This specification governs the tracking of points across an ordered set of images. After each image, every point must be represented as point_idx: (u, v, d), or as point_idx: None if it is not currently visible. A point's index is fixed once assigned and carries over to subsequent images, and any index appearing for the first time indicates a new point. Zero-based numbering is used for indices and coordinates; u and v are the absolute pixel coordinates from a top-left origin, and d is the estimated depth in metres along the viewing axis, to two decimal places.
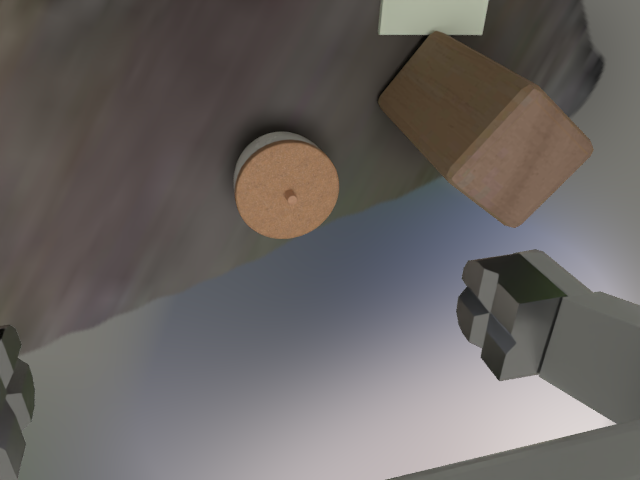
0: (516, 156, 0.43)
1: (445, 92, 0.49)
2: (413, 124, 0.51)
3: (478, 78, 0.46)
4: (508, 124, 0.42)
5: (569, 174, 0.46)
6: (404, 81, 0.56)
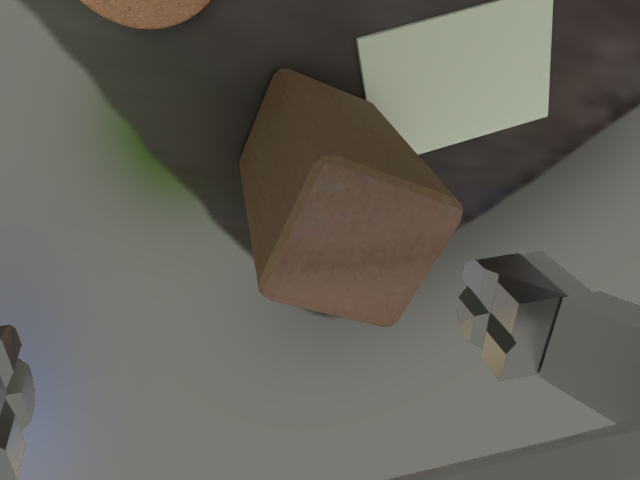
0: (375, 236, 0.31)
1: (366, 128, 0.37)
2: (312, 105, 0.36)
3: (409, 155, 0.36)
4: (418, 202, 0.30)
5: (358, 317, 0.34)
6: (324, 88, 0.43)
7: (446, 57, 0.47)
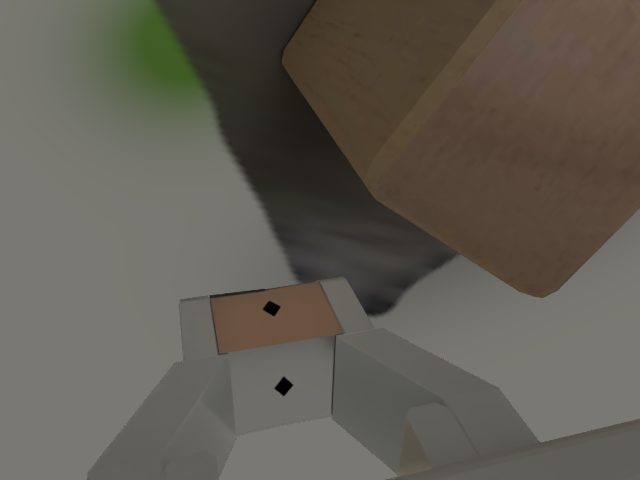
0: (602, 113, 0.17)
1: None
2: None
3: None
4: None
5: (508, 269, 0.20)
6: None
7: None
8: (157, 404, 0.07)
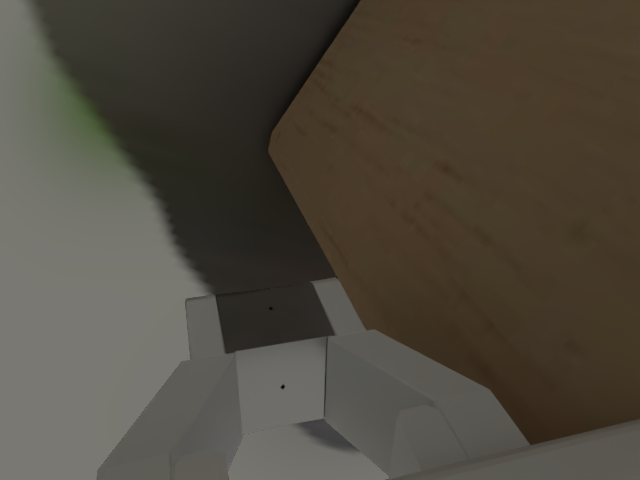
0: None
1: None
2: None
3: None
4: None
5: None
6: None
7: None
8: (165, 403, 0.07)
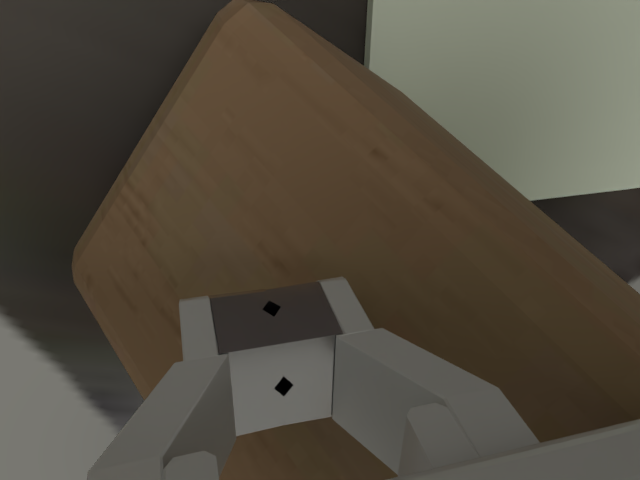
0: None
1: (612, 281, 0.13)
2: (573, 264, 0.10)
3: None
4: None
5: None
6: (381, 86, 0.15)
7: (551, 15, 0.22)
8: (157, 404, 0.07)
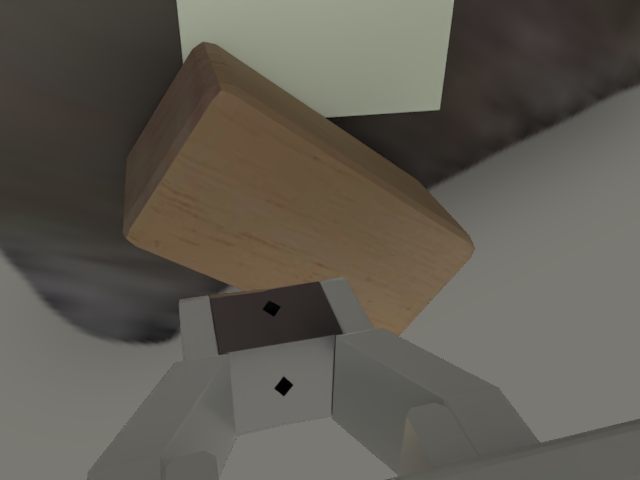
0: None
1: (355, 147, 0.34)
2: (370, 170, 0.30)
3: (370, 151, 0.37)
4: None
5: None
6: (262, 91, 0.29)
7: None
8: (157, 404, 0.07)
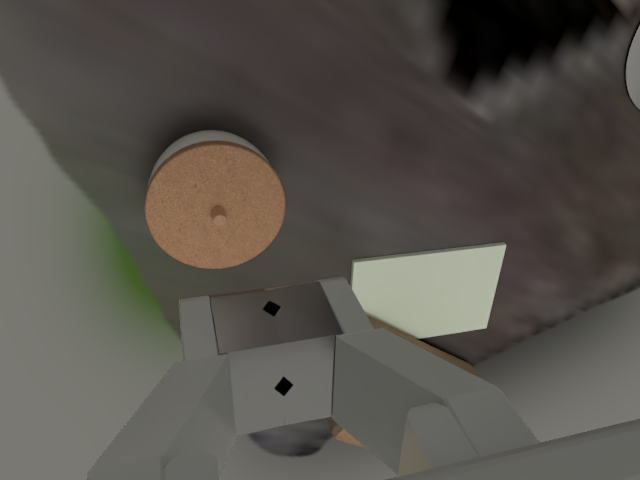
0: None
1: None
2: None
3: (446, 358, 0.64)
4: None
5: None
6: None
7: (418, 281, 0.59)
8: (157, 404, 0.07)
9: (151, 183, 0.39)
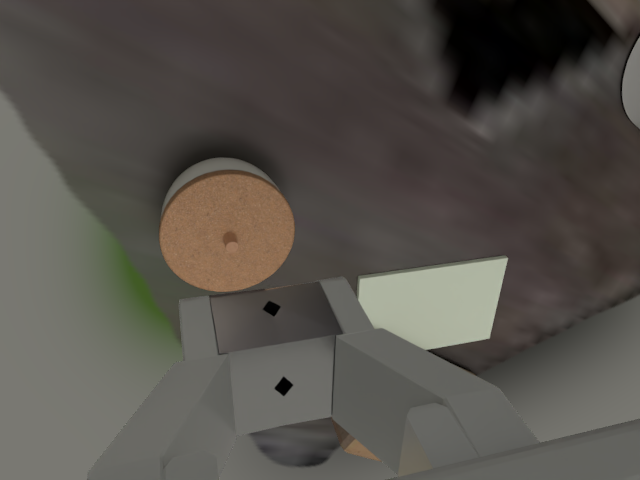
0: None
1: None
2: None
3: None
4: None
5: None
6: None
7: (422, 295, 0.61)
8: (157, 404, 0.07)
9: (165, 212, 0.40)
